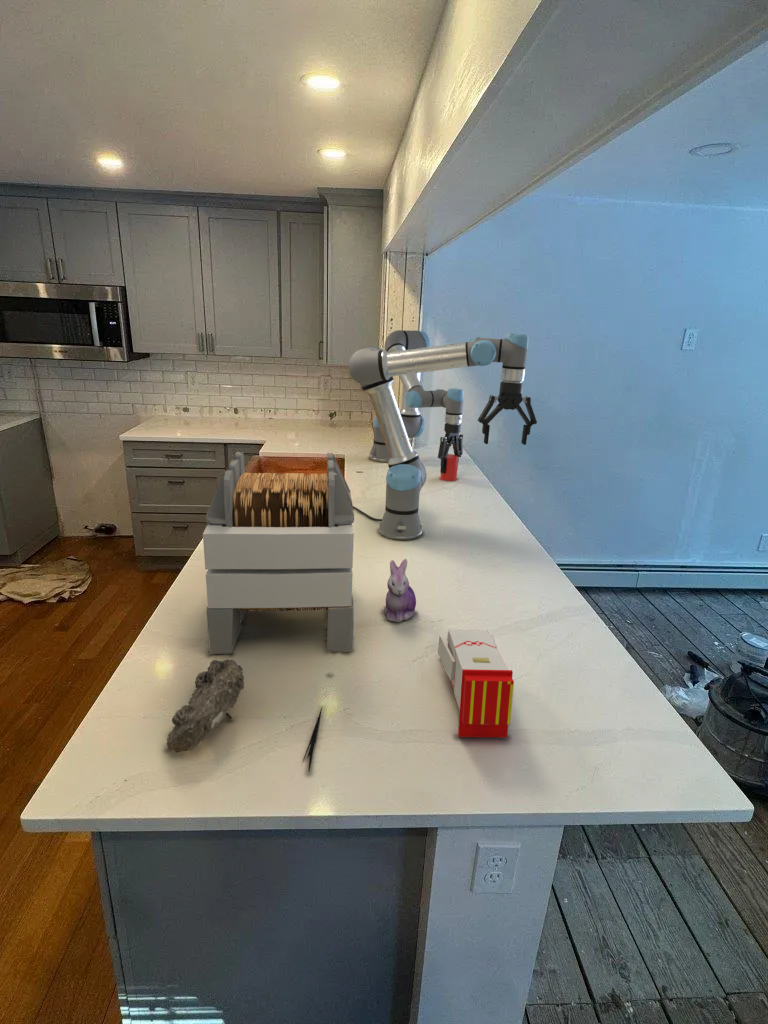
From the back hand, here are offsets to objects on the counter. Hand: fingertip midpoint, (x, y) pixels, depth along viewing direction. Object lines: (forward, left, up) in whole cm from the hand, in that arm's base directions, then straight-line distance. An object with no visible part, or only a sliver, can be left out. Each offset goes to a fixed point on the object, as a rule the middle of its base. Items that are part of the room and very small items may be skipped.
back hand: (449, 471), depth 267 cm
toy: (+159, -11, -4) cm, 159 cm away
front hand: (+64, +11, +28) cm, 71 cm away
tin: (0, 0, -4) cm, 4 cm away
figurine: (+128, -26, -4) cm, 130 cm away
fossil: (+169, -62, -4) cm, 180 cm away
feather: (+169, -42, -4) cm, 174 cm away
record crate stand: (+132, -55, -4) cm, 142 cm away
